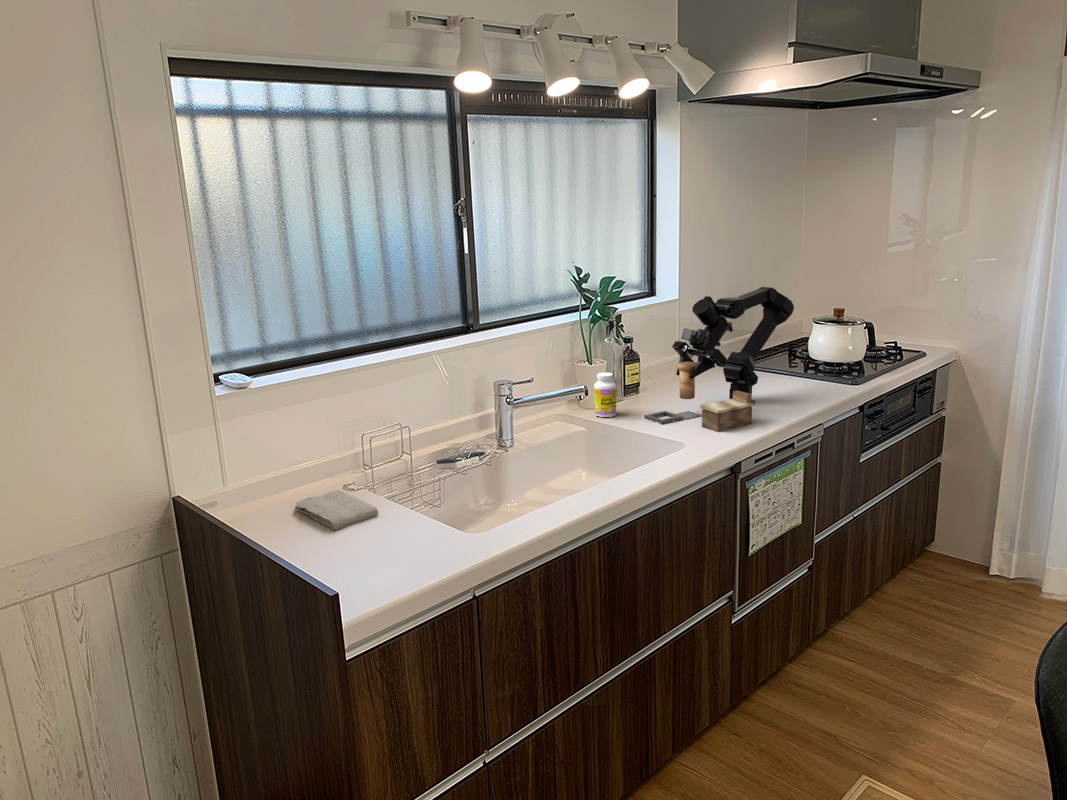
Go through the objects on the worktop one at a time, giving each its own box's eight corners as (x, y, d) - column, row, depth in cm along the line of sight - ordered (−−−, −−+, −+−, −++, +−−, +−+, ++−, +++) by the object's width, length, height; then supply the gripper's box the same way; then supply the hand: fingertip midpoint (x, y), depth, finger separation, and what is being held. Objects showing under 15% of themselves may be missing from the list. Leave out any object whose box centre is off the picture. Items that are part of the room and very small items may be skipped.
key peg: (688, 393, 250) (688, 360, 248) (700, 397, 246) (700, 363, 243) (673, 397, 248) (673, 363, 245) (686, 400, 243) (685, 366, 240)
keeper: (665, 413, 251) (665, 410, 250) (682, 419, 244) (682, 416, 244) (644, 418, 247) (644, 415, 246) (661, 424, 240) (661, 421, 240)
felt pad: (688, 411, 252) (688, 410, 252) (702, 416, 247) (702, 415, 247) (673, 415, 249) (673, 414, 249) (686, 419, 244) (686, 418, 244)
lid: (736, 400, 242) (736, 389, 241) (754, 405, 236) (754, 394, 235) (700, 408, 235) (700, 397, 234) (717, 413, 229) (718, 402, 228)
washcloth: (337, 497, 194) (336, 485, 193) (381, 517, 181) (380, 503, 180) (291, 512, 186) (289, 499, 185) (333, 534, 173) (332, 520, 172)
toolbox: (735, 418, 243) (736, 402, 241) (751, 423, 237) (752, 406, 236) (701, 426, 236) (702, 409, 235) (717, 431, 231) (717, 414, 230)
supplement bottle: (598, 419, 248) (598, 377, 244) (591, 413, 254) (590, 372, 251) (619, 416, 249) (619, 375, 246) (611, 411, 256) (611, 370, 252)
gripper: (676, 314, 250) (648, 355, 248) (719, 321, 235) (689, 365, 232) (696, 336, 256) (669, 376, 254) (739, 345, 240) (710, 388, 238)
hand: (683, 376), depth 244 cm, fingers closed on key peg, 5 cm apart
